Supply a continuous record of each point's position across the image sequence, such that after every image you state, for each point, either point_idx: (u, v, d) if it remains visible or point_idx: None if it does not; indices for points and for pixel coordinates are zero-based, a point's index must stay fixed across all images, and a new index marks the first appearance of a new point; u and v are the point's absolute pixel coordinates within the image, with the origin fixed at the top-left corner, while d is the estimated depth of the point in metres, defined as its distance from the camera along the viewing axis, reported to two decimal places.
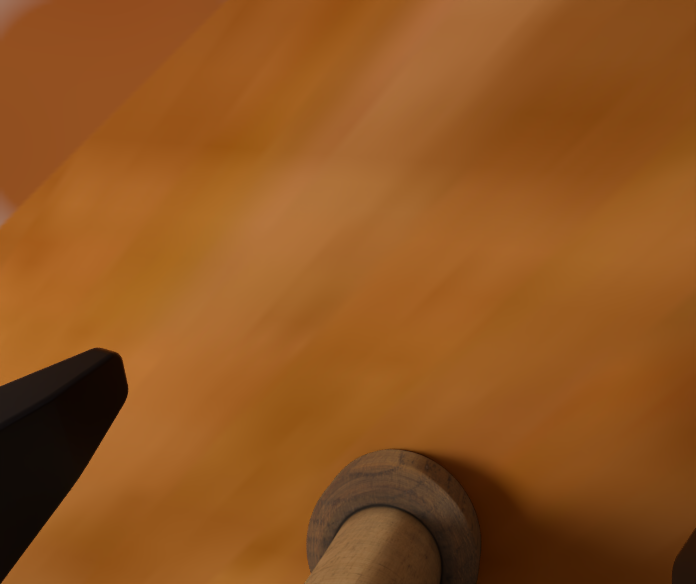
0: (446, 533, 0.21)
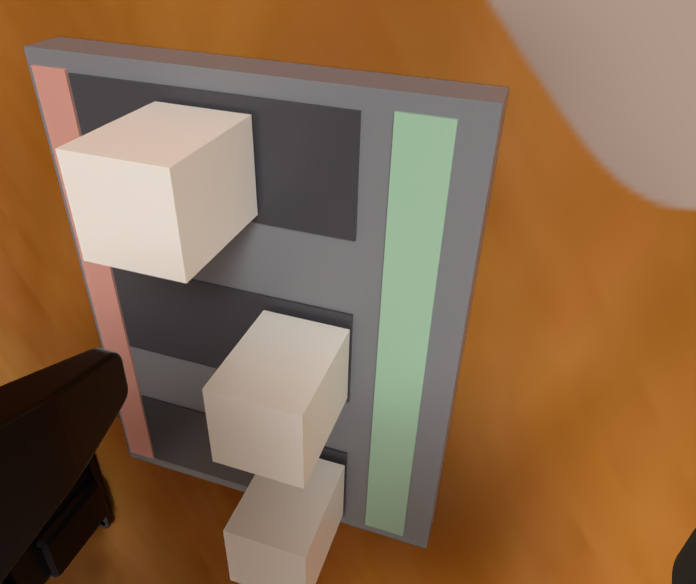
0: None
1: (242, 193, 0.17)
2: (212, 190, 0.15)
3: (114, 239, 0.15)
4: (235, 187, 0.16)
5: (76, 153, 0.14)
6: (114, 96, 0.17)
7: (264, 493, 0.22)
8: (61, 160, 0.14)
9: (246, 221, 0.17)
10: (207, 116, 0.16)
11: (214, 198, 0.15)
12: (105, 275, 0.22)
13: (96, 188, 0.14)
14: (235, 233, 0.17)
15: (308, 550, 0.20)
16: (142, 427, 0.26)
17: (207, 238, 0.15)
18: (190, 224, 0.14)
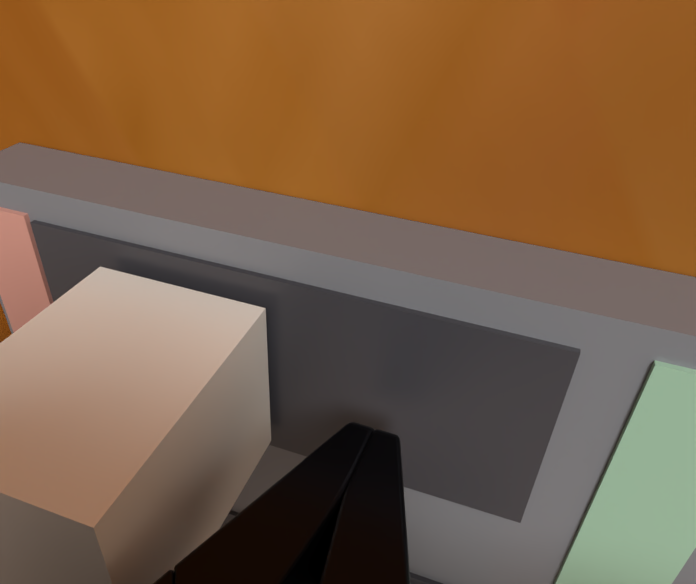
0: None
1: (247, 435, 0.10)
2: (191, 479, 0.08)
3: (3, 579, 0.08)
4: (235, 436, 0.09)
5: None
6: (109, 265, 0.10)
7: None
8: None
9: (252, 467, 0.10)
10: (188, 316, 0.09)
11: (195, 488, 0.08)
12: None
13: None
14: (234, 500, 0.10)
15: None
16: None
17: (181, 558, 0.08)
18: (145, 571, 0.07)
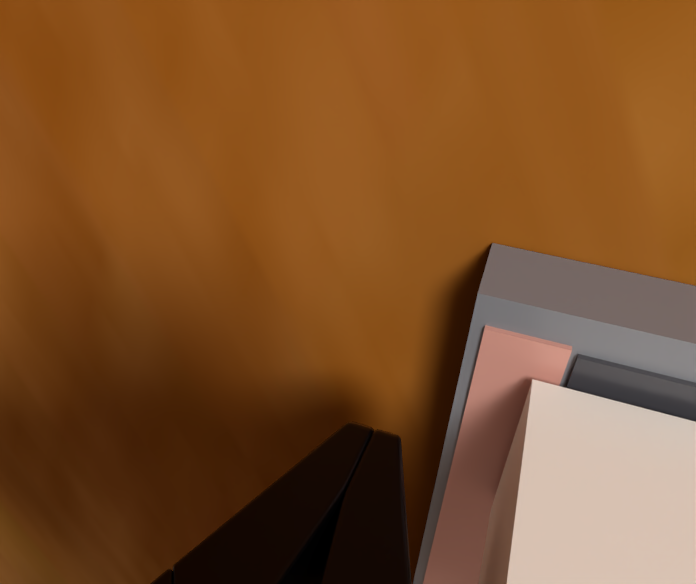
0: None
1: None
2: None
3: None
4: None
5: None
6: (681, 413, 0.08)
7: None
8: None
9: None
10: (694, 454, 0.07)
11: None
12: None
13: None
14: None
15: None
16: None
17: None
18: None
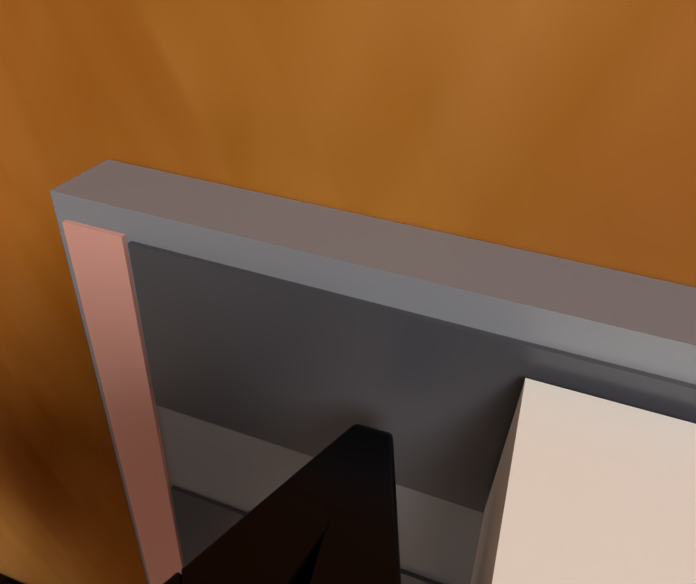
0: None
1: None
2: None
3: None
4: None
5: None
6: (208, 289, 0.10)
7: None
8: None
9: None
10: (685, 455, 0.07)
11: None
12: (158, 497, 0.14)
13: None
14: None
15: None
16: None
17: None
18: None
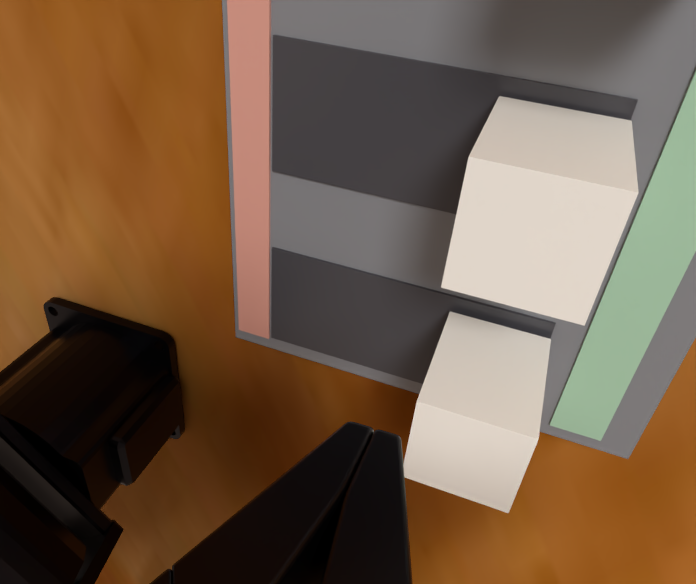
0: None
1: None
2: None
3: None
4: None
5: None
6: None
7: (458, 362, 0.16)
8: None
9: None
10: None
11: None
12: (257, 58, 0.16)
13: None
14: None
15: (539, 430, 0.14)
16: (263, 293, 0.21)
17: None
18: None
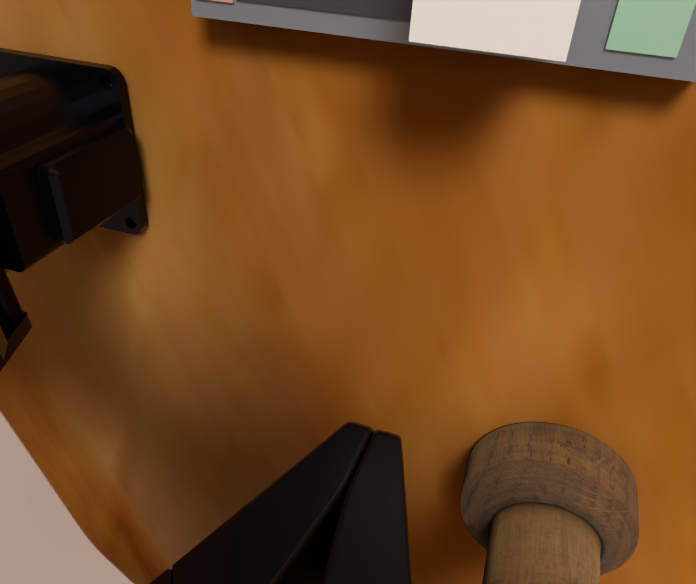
0: None
1: None
2: None
3: None
4: None
5: None
6: None
7: None
8: None
9: None
10: None
11: None
12: None
13: None
14: None
15: None
16: None
17: None
18: None
